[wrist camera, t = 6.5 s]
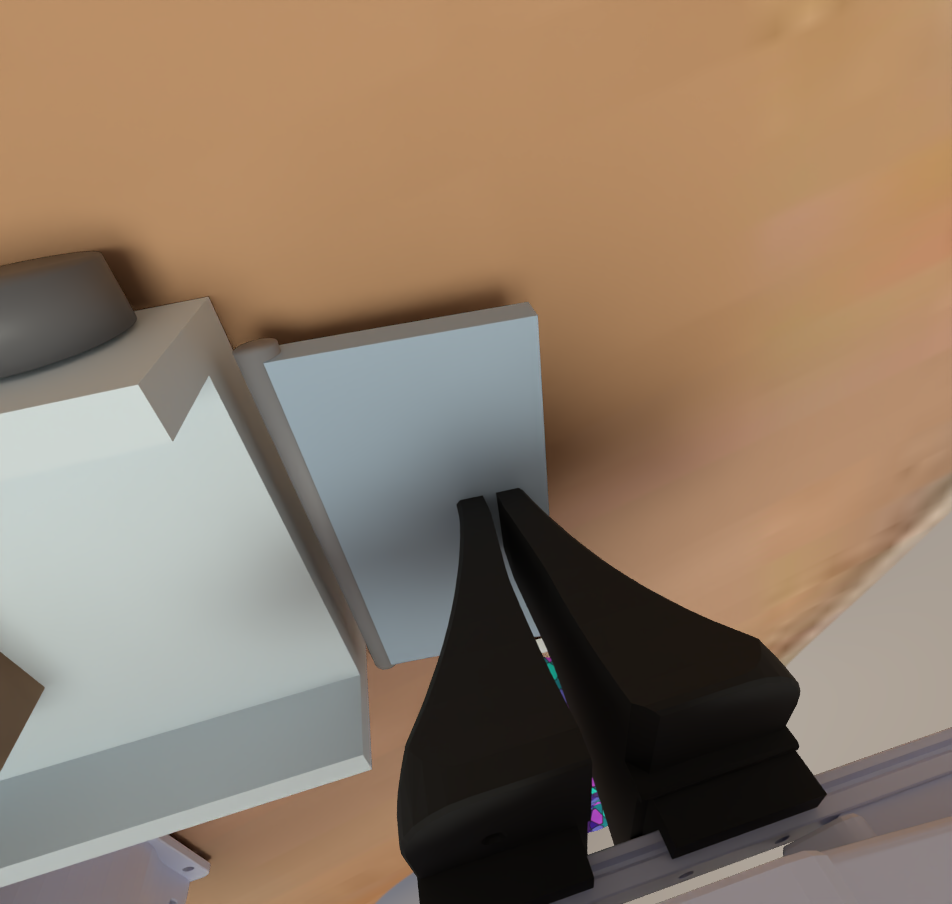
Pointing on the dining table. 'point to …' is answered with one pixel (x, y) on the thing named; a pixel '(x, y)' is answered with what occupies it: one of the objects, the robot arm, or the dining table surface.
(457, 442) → the panel
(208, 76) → the dining table surface
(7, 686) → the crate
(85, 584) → the ute bed
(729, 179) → the dining table surface
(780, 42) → the dining table surface
